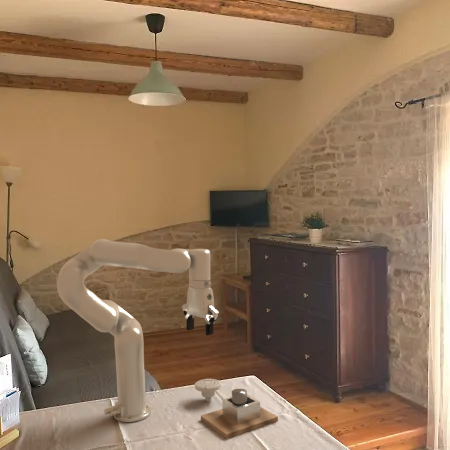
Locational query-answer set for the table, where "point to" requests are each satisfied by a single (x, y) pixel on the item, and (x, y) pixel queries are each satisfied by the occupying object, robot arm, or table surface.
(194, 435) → the table surface
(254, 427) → the board
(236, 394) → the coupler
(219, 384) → the showerhead
